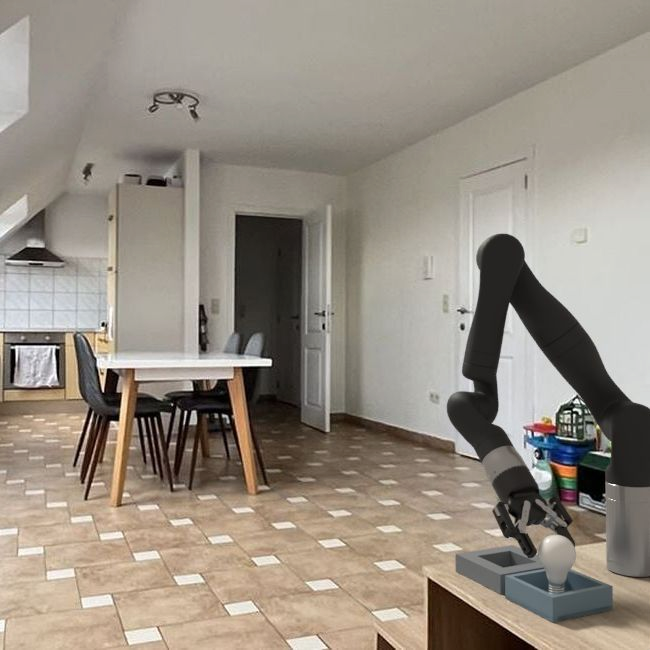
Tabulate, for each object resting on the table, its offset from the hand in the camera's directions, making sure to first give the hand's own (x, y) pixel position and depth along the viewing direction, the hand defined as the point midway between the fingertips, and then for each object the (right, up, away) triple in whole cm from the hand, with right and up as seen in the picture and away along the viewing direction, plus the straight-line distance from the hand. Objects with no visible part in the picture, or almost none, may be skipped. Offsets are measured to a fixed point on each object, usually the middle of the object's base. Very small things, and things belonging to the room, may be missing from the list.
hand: (552, 552), depth 126 cm
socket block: (-5, -9, +13) cm, 16 cm away
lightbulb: (0, -8, -1) cm, 8 cm away
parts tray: (+1, -8, -1) cm, 9 cm away
